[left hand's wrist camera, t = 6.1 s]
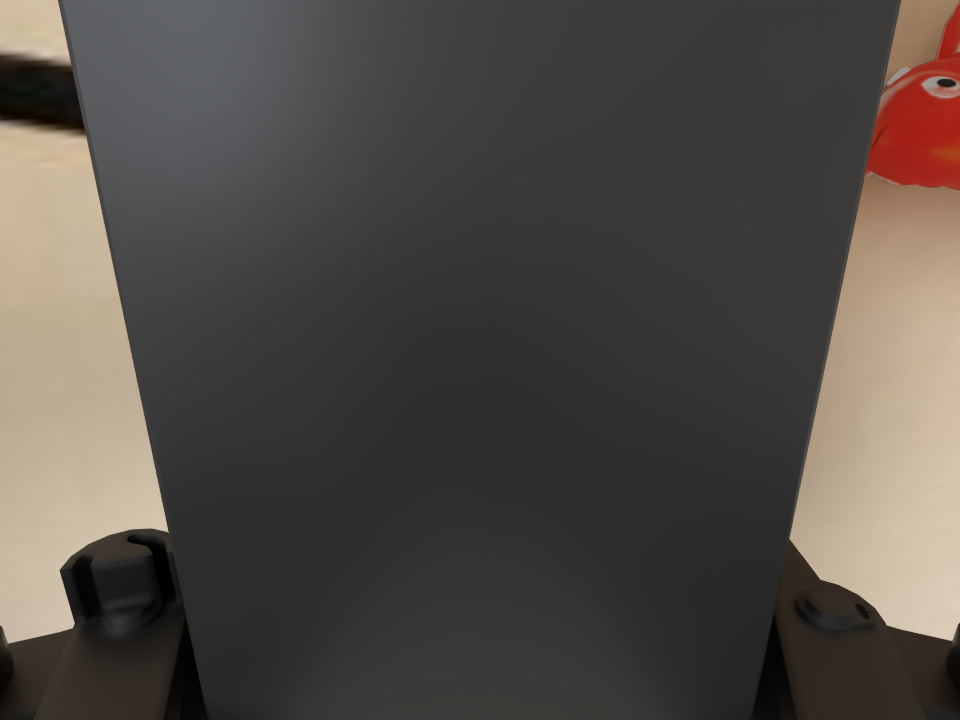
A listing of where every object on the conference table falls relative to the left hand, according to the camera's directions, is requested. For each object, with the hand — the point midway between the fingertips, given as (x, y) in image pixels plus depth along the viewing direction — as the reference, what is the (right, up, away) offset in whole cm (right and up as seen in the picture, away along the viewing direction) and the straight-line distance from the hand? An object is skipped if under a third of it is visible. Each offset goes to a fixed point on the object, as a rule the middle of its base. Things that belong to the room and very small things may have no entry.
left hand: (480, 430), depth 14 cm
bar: (0, +12, -4) cm, 13 cm away
